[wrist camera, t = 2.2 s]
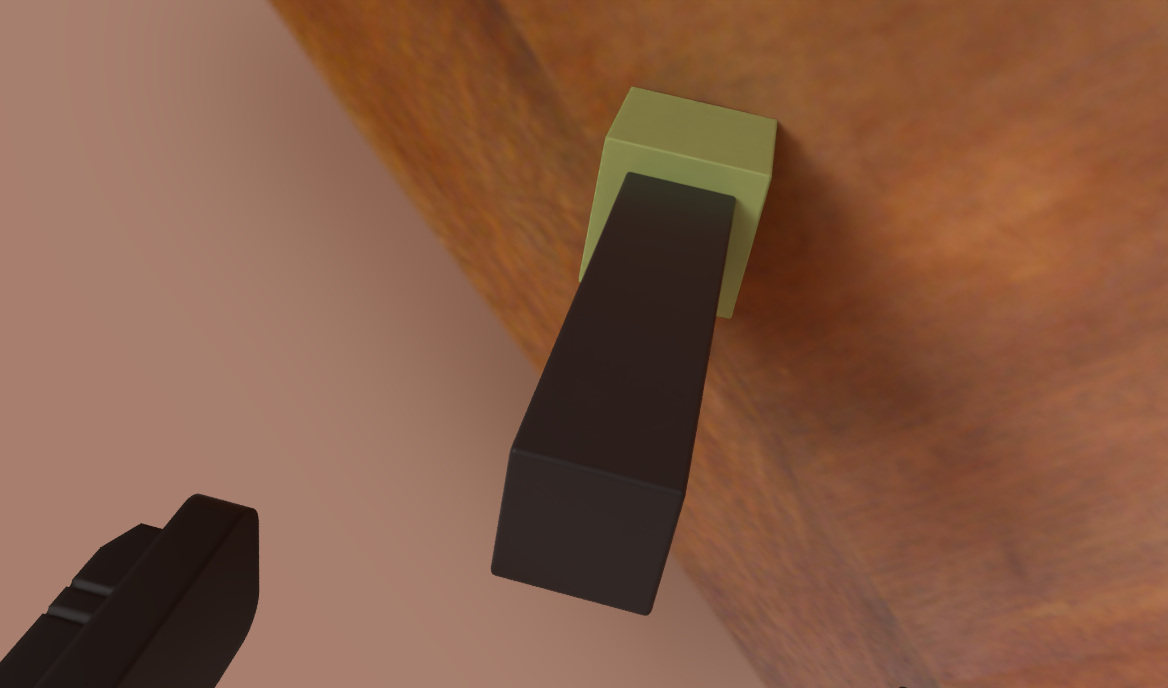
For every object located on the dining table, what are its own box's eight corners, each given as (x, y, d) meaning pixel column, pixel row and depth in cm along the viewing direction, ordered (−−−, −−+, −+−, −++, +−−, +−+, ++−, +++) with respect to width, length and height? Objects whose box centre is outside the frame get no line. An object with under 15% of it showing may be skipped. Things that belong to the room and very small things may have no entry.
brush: (604, 218, 27) (445, 593, 15) (631, 85, 25) (470, 401, 13) (741, 251, 26) (681, 658, 15) (778, 119, 24) (742, 471, 13)
